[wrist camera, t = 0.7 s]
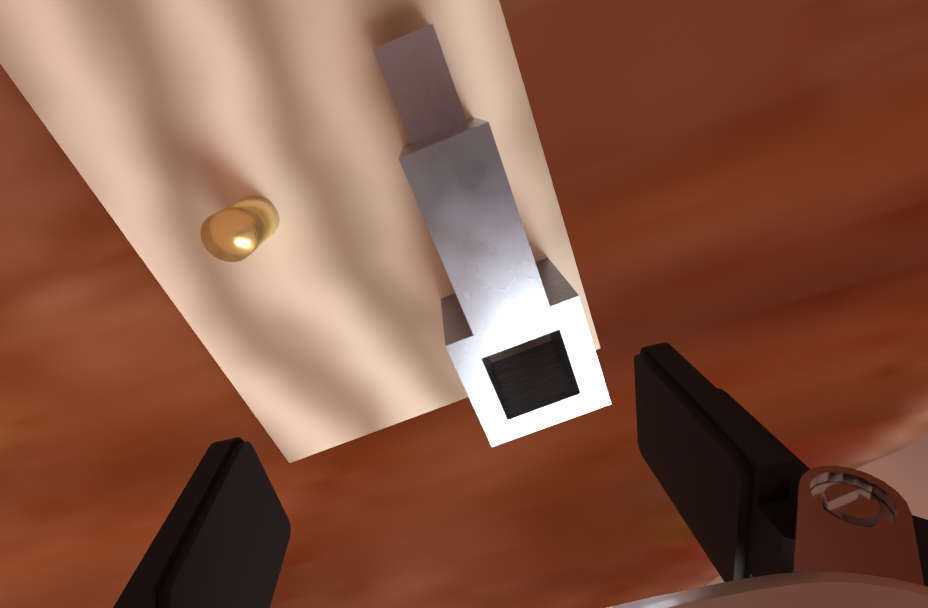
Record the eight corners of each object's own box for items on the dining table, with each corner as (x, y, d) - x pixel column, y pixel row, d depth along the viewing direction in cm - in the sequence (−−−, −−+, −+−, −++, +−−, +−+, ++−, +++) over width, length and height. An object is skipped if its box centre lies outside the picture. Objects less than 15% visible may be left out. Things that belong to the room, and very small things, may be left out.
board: (407, -278, 20) (406, -317, 18) (590, 334, 33) (600, 348, 31) (-53, -56, 21) (-97, -70, 19) (296, 443, 34) (289, 463, 32)
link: (338, 68, 23) (312, 58, 17) (469, 11, 22) (486, -18, 17) (479, 386, 31) (491, 447, 26) (577, 350, 31) (611, 404, 25)
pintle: (275, 182, 27) (236, 204, 21) (296, 220, 28) (264, 251, 22) (238, 198, 27) (189, 223, 21) (260, 235, 28) (219, 269, 22)
